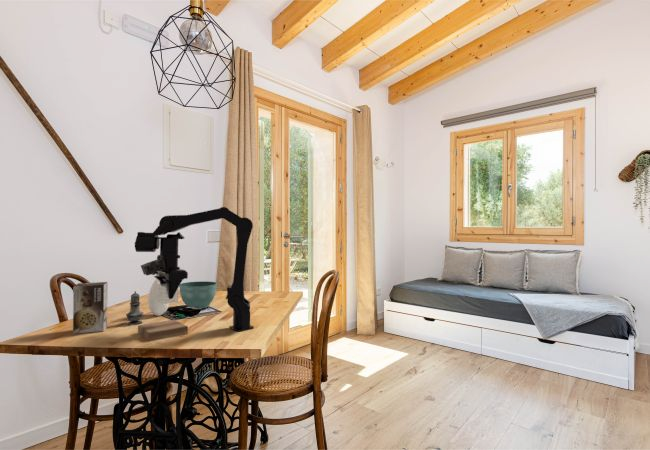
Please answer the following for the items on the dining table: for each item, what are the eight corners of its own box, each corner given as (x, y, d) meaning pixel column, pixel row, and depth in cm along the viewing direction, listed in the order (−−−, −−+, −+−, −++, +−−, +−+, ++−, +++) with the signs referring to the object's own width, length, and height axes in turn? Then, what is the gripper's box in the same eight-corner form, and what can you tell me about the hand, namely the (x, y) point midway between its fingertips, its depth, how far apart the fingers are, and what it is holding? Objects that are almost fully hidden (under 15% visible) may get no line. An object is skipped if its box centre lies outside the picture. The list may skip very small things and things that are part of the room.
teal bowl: (173, 307, 161) (173, 283, 161) (207, 302, 171) (208, 280, 171) (186, 313, 149) (187, 287, 149) (222, 308, 159) (223, 284, 159)
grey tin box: (177, 302, 123) (178, 284, 123) (162, 304, 119) (163, 286, 119) (172, 299, 126) (173, 283, 126) (157, 301, 123) (158, 284, 123)
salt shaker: (135, 325, 129) (136, 292, 129) (121, 324, 130) (122, 291, 130) (147, 321, 135) (147, 290, 135) (133, 320, 136) (134, 289, 136)
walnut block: (187, 335, 120) (187, 326, 120) (149, 342, 112) (150, 333, 112) (173, 328, 129) (174, 319, 129) (137, 334, 120) (138, 325, 120)
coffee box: (107, 326, 127) (108, 281, 128) (103, 331, 121) (104, 284, 122) (77, 329, 124) (78, 282, 124) (71, 334, 118) (72, 285, 118)
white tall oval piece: (155, 318, 140) (156, 272, 140) (143, 315, 144) (144, 271, 144) (173, 314, 147) (173, 270, 147) (161, 312, 151) (162, 269, 151)
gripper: (135, 251, 124) (134, 296, 124) (153, 254, 111) (152, 305, 110) (168, 250, 132) (167, 292, 132) (188, 253, 118) (187, 300, 118)
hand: (167, 297), depth 123 cm, fingers closed on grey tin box, 5 cm apart
